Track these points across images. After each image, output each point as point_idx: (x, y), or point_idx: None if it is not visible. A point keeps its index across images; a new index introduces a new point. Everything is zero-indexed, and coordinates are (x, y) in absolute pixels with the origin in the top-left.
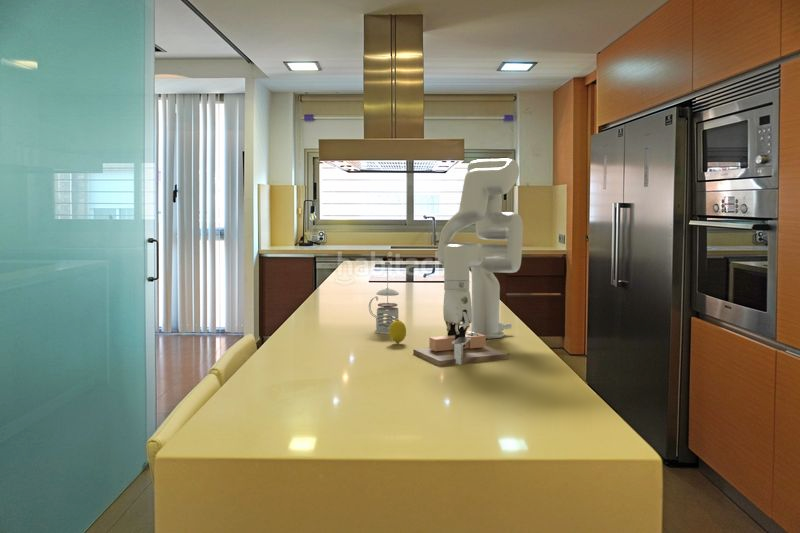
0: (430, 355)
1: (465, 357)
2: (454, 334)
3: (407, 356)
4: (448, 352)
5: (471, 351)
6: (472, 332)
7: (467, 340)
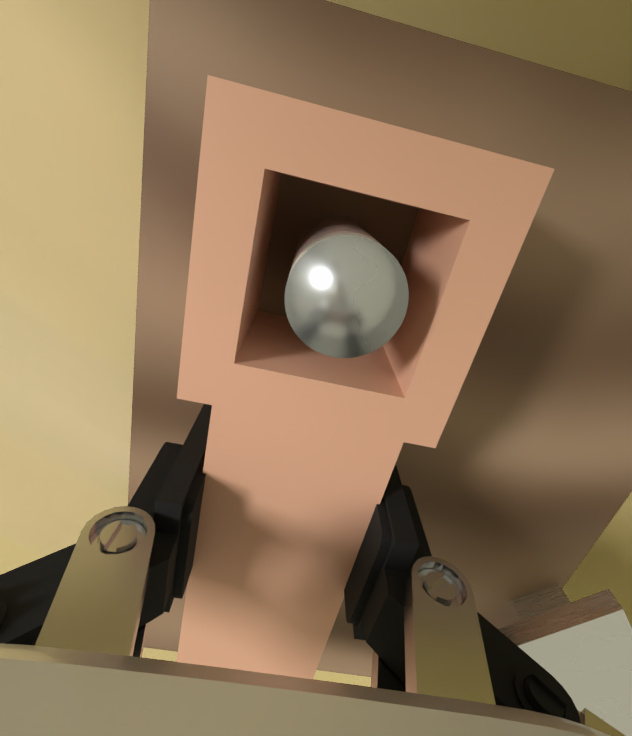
0: (346, 662)
1: (560, 563)
2: (198, 515)
3: (175, 652)
4: None
5: (461, 407)
6: (316, 301)
7: None
